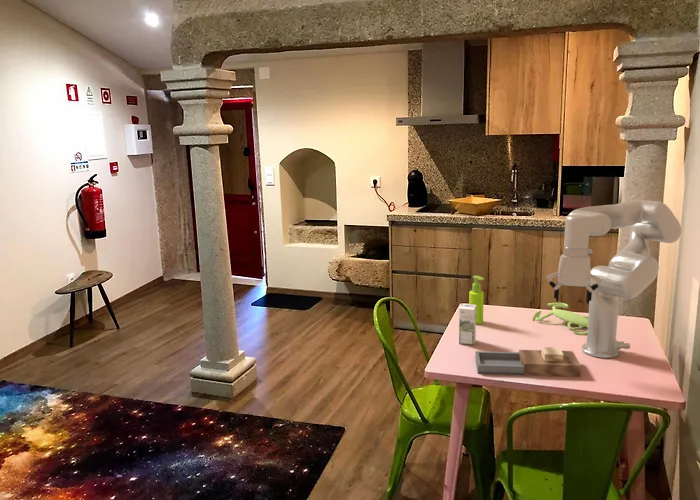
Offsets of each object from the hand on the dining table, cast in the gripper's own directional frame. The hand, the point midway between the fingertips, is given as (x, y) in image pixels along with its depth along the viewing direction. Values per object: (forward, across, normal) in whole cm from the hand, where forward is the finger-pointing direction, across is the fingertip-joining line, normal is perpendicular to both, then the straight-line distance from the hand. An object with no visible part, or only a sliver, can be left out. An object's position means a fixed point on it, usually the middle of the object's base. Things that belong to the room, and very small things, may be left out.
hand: (572, 301), depth 196 cm
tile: (+19, +6, +5) cm, 20 cm away
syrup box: (+23, +36, -12) cm, 44 cm away
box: (+23, +23, +8) cm, 33 cm away
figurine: (+23, -1, -43) cm, 49 cm away
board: (+23, +6, +5) cm, 24 cm away
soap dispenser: (+23, +34, -35) cm, 54 cm away
